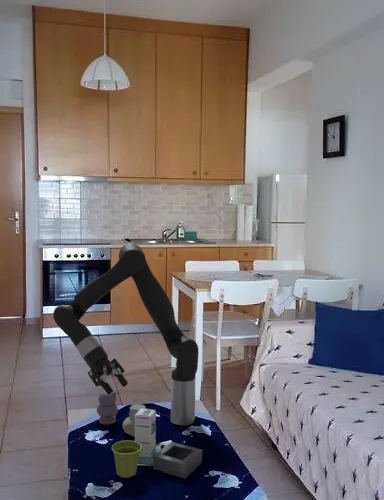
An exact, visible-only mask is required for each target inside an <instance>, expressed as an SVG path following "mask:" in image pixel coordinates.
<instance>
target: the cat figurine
mask: <svg viewBox="0 0 384 500" xmlns="http://www.w3.org/2000/svg"><path fill="white" fill-rule="evenodd" d="M97 399H98V404H97V407H96V413H97V415H98V416H99V419H98V420H99V421H98V422H99V423H100V424H101V425H107V426H108V425H113V424H114V423H116V421H117V420H116V419H117V418H116V415H117V414H118V411H119V407H118V405H117V404H116V401H117V392H114V391H113V392H112V393H111V394H110V395H108V394H107V393H106V392H105V390H104V389H103V388H102V389H101V393H99V395H98V397H97Z"/></svg>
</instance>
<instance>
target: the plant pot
mask: <svg viewBox="0 0 384 500" xmlns="http://www.w3.org/2000/svg"><path fill="white" fill-rule="evenodd" d="M141 449H142V445H141V444H140V443H138V442H136V441H135V440H120V441H116V442H114V444H112V445H111V451H112V453H113V455H114V456H113V457H114V463H115V464H114V465H115V470H116V471H115V472H116V475H117V476H119V477H120V478H126V479H128V478H131V477H132V476H133V477H134V476H136V474H137V471H138V458H139V454H140V450H141Z"/></svg>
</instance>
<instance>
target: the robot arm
mask: <svg viewBox="0 0 384 500" xmlns="http://www.w3.org/2000/svg"><path fill="white" fill-rule="evenodd" d="M143 250H144V249H143V248H141V247H140V246H139V245H138V244H135V243H131V242H129V243H126V244H124V245H122V246H121V248H120V250H119V253H118V261H117V262H116V263H115V264H114V265H113V266H112V267H111V268H110V269H109V270H108V271H106V272H104V274H102V275H99V276H98V277H97V278H94V279H93V280H91V281H90V282H88V283H87V284H86V285H85V286H83V288H81V289H80V290H79V291H78V292H77V293H76V294H74V296H73V297H74V298H73V299H74V300H72V301H71V303H70V304H68V305H66V304H62V305H58V306H57V307H55V309H54V310H53V312H52V315H53V316H52V317H53V321H54V322H55V324H56V325H57V327H59V329H60V330H61V331H62V332H63V333H65V334H66V336H67V337H68V338H69V339H70V341H71V342H72V343H73V345H74V346H75V347H76V349H77V351H78V354H79V355H80V356H81V357H82V359H83V360H84V362H85V363H86V364H87V366H88V368H90V369H89V371H87V375H88V376H89V378H90V380H91V381H92V383H93V384H94V386H95V387H99V386H100V387H101V388H102V389H104V390H105V392H106V393H107V394H108V395H110V394H111V393H112V392H113V393H114V389H113V388H112V387H111V385H110V384H109V382H107V377H109V376H111V377H115V378H116V379H117V381H118V382H119V383H120V384H121V386H122V387H123V388H124V387H127V386H128V384H129V383H128V381H127V379H126V377H124V375H123V373H124V372H125V369H124V368H123V366H122V365H121V364H120V362H119V361H118V360H117V358H112V360H111V361H110V360H109V359H108V357H109V355H108V353H107V352H106V350H105V349H104V348H103V346H102V345H101V343H100V342H99V341H98V339H96V337H95V336H94V335H93V334H92V332H91V330H90V329H89V328H88V327H87V326H86V325H85V324H83V323H81V322H80V320H81V319H82V318H83V317H84V315H85V314H86V313H87V311H88V310H89V309H91V308H92V307H93V306H94V305H95V304H96V303H98V302H99V301H100V300H101V299H103V297H105V296H106V295H107V294H108V293H109V292H111V291H112V290H113V289H114V288H115V287H117V286H119V285H120V284H122V283H123V282H124V281H126V280H128V279H129V278H132V280H133V282H134V284H135V286H136V289H137V292H138V294H139V297H140V299H141V301H142V303H143V306H144V307H145V309H146V311H147V312H148V314H149V317H150V318H151V319H152V321H153V323H154V324H155V326H156V328H157V329H158V330H159V333H160V334H161V336H162V338H163V340H164V343H165V345H166V348H167V350H168V352H169V354H170V355H171V356H172V358H174V359H176V368H173V369H172V370H171V383H170V384H171V387H170V388H171V391H170V392H171V393H170V394H171V395H170V422H171V423H172V424H174V425H178V426H189V425H192V424H193V423H195V419H196V374H197V371H198V368H199V346H198V343H197V342H196V341H195V340H194V339H192V338H190V337H188V336H186V335H185V334H184V332H183V331H182V330H181V328H180V326H179V325H178V323H177V321H176V318H175V310H174V307H173V304H172V302H171V300H170V298H169V296H168V294H167V293H166V291H165V290H164V288H163V286H162V285H161V284H160V282H159V280H158V279H157V278H156V277H155V275H154V273H153V272H152V270H151V268H150V266H149V264H148V261H147V260H146V259H147V258H146V255H145V251H143Z"/></svg>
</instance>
